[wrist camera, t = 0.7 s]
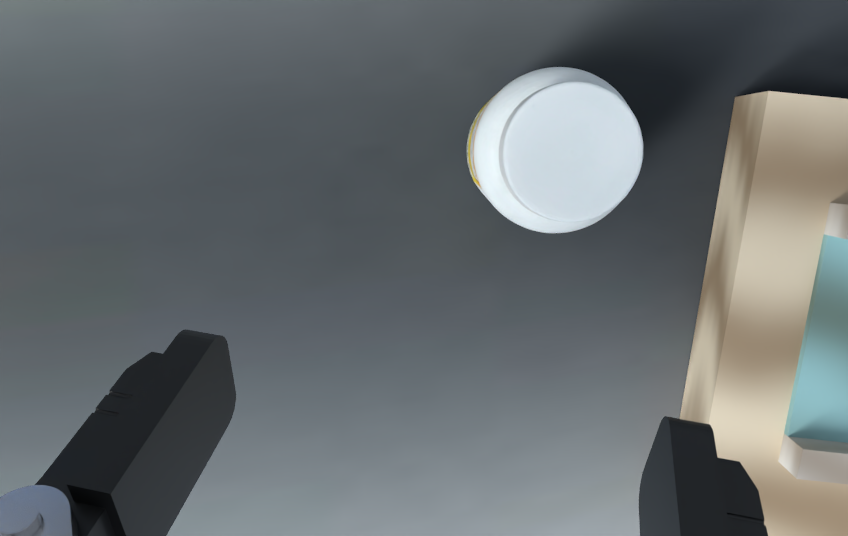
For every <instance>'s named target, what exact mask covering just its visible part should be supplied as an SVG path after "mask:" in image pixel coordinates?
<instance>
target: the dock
mask: <svg viewBox="0 0 848 536" xmlns="http://www.w3.org/2000/svg"><path fill="white" fill-rule="evenodd" d="M680 419H683V420H689V421H694V422H700V423H705V424H710V425H711V427H712V429H713V433H714V439H715V445H716V451H717V457H718V458H723V459H728V460H733V461H739V462H740V463H741V464H742V466H743V467H744V469H745V470H746V472H747V473H748V475H749V477H750V478H751V480H752V481H753V483H754V484H755V486H756V487H757V489H758V491H759V496H760V500H761V505H762V510H763V514H764V519H765V520H764V525H765V526H766V528H767V533H768V536H848V99H844V98H834V97H824V96H814V95H804V94H795V93H785V92H775V91H765V92H760V93H754V94H749V95H743V96H738V97H735V101H734V107H733V113H732V118H731V124H730V130H729V136H728V142H727V147H726V153H725V159H724V165H723V170H722V176H721V182H720V188H719V194H718V199H717V205H716V211H715V217H714V223H713V228H712V234H711V240H710V246H709V252H708V257H707V263H706V269H705V275H704V281H703V286H702V292H701V298H700V304H699V309H698V315H697V321H696V327H695V333H694V338H693V344H692V350H691V356H690V362H689V367H688V373H687V379H686V385H685V391H684V396H683V402H682V408H681V414H680Z"/></svg>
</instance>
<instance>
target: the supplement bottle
mask: <svg viewBox="0 0 848 536" xmlns="http://www.w3.org/2000/svg"><path fill="white" fill-rule="evenodd" d="M467 161H468V166H469V170H470V173H471V176H472V178H473V180H474V182H475V184H476V185H477V187H478V188H479V189H480V191H481V192H482V193H483V194H484V195H485V196H486V198H487V199H488V200H489V201H490V202H491V203H492V205H493V206H494V207H495V208H496V209H497V210H498V211H499V212H500V213H501V214H502V215H504V216H505V217H506V218H508V219H509V220H511V221H512V222H514V223H516V224H518V225H520V226H522V227H525V228H527V229H530V230H534V231H538V232H545V233H564V232H571V231H575V230H579V229H582V228H585V227H587V226H589V225H592V224H594V223H596V222H597V221H599V220H600V219H602V218H603V217H605V216H606V215H607V214H609V213H610V212H611V211H612V210H613V209H614V208H615V207H616V206H617V205H618V204H619V203H620V202H621V201H622V200H623V199H624V198H625V197H626V196H627V194H628V193H629V191H630V190H631V188H632V187H633V185H634V183H635V181H636V179H637V177H638V175H639V173H640V169H641V165H642V161H643V139H642V134H641V130H640V126H639V124H638V121H637V119H636V117H635V115H634V114H633V112H632V110H631V109H630V108H629V106H628V104H627V103H626V101H625V100H624V98H623V97H622V96H621V95H620V93H619V92H618V91H617V90H616V89H615V88H613V87H612V86H611V85H610V84H609V83H607V82H606V81H604V80H603V79H601V78H599V77H598V76H596V75H594V74H591V73H589V72H586V71H583V70H580V69H575V68H569V67H550V68H543V69H539V70H535V71H532V72H529V73H527V74H524V75H522V76H520V77H518V78H516V79H515V80H513V81H511V82H510V83H509V84H507V85H506V86H505V87H504V88H503V89H501V90H500V91H499V92H498V93H497V94H496V95H495V96H493V97H492V98H491V99H490V100H489V101H488V102H487V103H486V104H485V105H484V106H483V108H482V109H481V110H480V111H479V113H478V114H477V116H476V118H475V119H474V121H473V123H472V126H471V129H470V132H469V135H468V141H467Z"/></svg>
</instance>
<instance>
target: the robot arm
mask: <svg viewBox="0 0 848 536" xmlns="http://www.w3.org/2000/svg"><path fill="white" fill-rule="evenodd" d="M235 401H236V391H235V385H234V379H233V373H232V367H231V361H230V355H229V350H228V344H227V341H226V339H225V337H223V336H219V335H214V334H208V333H202V332H197V331H191V330H183V331H181V332H180V333H179V334H178V335H177V336H176V337H175V339H174V340H173V341H172V343H171V344H170V345H169V347H168V348H167V349H166V351H165V352H164V353H163V354H161V353H155V352H151V353H149V354H148V355H146V356H145V357H143V358H142V359H140V360H139V361H137V362H136V363H135V364H133V365H132V366H130V367H129V368H127V369H126V370H125V372H124V373H123V374H122V375H121V377H120V378H119V379H118V380H117V382H116V383H115V384H114V386H113V387H112V388H111V389H110V393H109V395H106V396H105V397H104V398H103V400H102V401H101V402H100V403H99V405H98V406H97V407H96V411H95V413H92V414H91V415H90V416H89V418H88V419H87V420H86V421H85V423H84V424H83V425H82V426H81V428H80V429H79V430H78V432H77V433H76V434H75V435H74V437H73V438H72V439H71V441H70V442H69V443H68V444H67V446H66V447H65V448H64V449H63V451H62V452H61V453H60V455H59V456H58V457H57V458H56V460H55V461H54V462H53V464H52V465H51V466H50V467H49V469H48V470H47V471H46V472H45V474H44V475H43V476H42V477H41V479H40V480H39V481H38V482H37V483H36V484H35V485H32V486H26V487H22V488H18V489H16V490H13V491H11V492H9V493H7V494H4V495H3V496H1V497H0V536H166V535H167V533H168V531H169V530H170V528H171V526H172V524H173V523H174V521H175V519H176V517H177V515H178V514H179V512H180V510H181V508H182V507H183V505H184V503H185V501H186V499H187V498H188V496H189V494H190V492H191V491H192V489H193V487H194V485H195V483H196V482H197V480H198V478H199V476H200V475H201V473H202V471H203V469H204V468H205V466H206V464H207V462H208V460H209V459H210V457H211V455H212V453H213V452H214V450H215V448H216V446H217V444H218V443H219V441H220V439H221V437H222V436H223V434H224V432H225V430H226V428H227V427H228V425H229V423H230V420H231V418H232V415H233V412H234V407H235ZM639 519H640V536H768V533H767V528H766V526H765V525H764V520H765V519H764V514H763V510H762V505H761V500H760V496H759V491H758V489H757V487H756V486H755V484H754V483H753V481H752V480H751V478H750V477H749V475H748V473H747V472H746V470H745V469H744V467H743V466H742V464H741V463H740V462H739V461H733V460H728V459H723V458H718V457H717V451H716V445H715V439H714V433H713V429H712V427H711V425H710V424H705V423H700V422H694V421H689V420H683V419H677V418H672V417H666V416H665V417H664V418H663V419H662V421H661V423H660V426H659V429H658V432H657V434H656V437H655V440H654V443H653V445H652V448H651V451H650V454H649V457H648V459H647V462H646V465H645V468H644V471H643V474H642V479H641V484H640V493H639Z"/></svg>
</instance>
